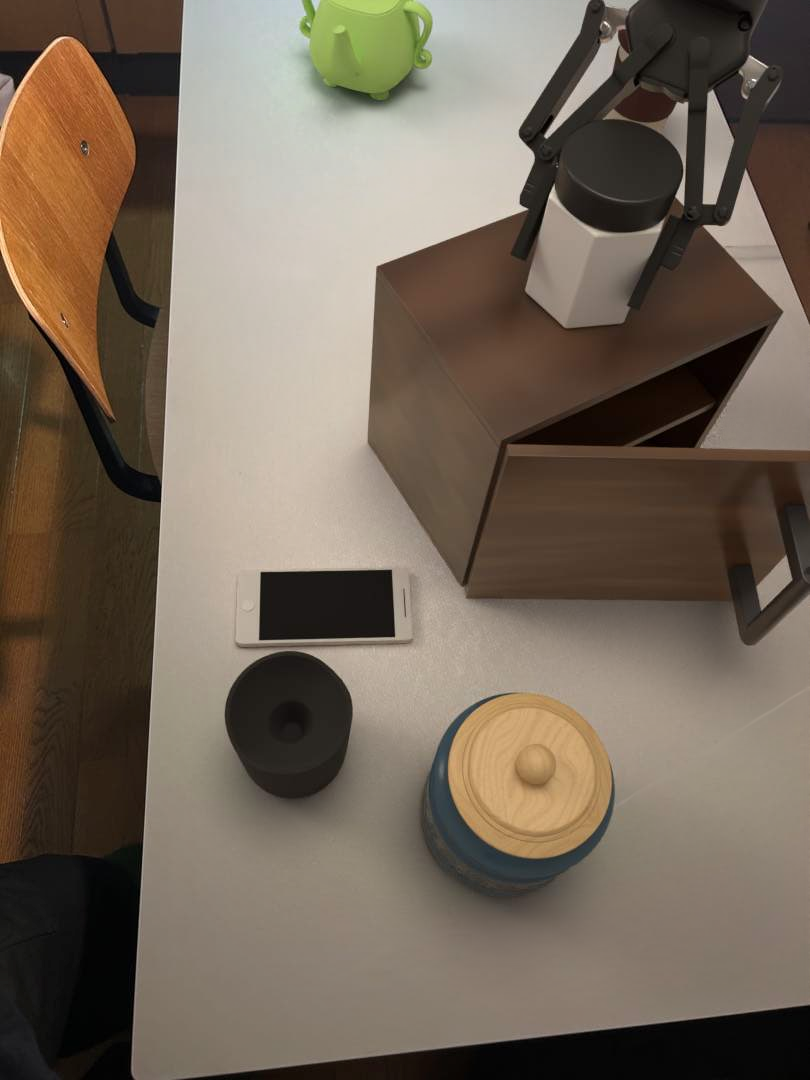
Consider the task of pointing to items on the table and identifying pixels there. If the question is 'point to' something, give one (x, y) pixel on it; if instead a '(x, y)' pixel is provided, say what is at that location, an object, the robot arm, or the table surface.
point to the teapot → (367, 42)
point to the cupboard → (541, 369)
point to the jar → (602, 221)
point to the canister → (516, 794)
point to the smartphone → (323, 607)
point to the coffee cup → (641, 98)
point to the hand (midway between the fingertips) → (574, 282)
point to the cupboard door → (648, 527)
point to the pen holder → (289, 723)
